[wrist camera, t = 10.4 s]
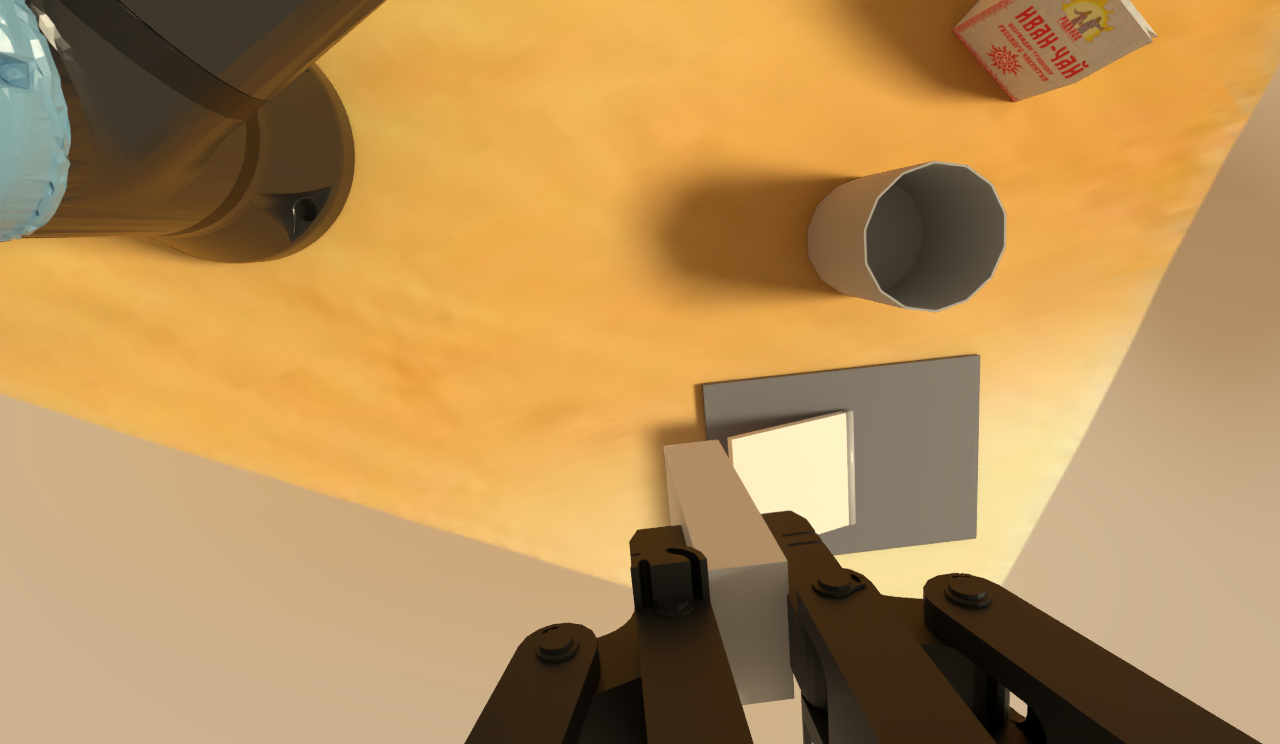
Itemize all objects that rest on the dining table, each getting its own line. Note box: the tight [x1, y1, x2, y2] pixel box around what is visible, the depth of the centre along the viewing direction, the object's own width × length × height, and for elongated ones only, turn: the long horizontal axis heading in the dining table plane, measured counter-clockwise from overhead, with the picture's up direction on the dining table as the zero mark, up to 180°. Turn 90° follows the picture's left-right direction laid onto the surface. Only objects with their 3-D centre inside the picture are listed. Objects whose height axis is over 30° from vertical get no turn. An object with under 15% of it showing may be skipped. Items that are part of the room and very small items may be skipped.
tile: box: [727, 409, 856, 534], centre depth 46 cm, size 10×9×1 cm
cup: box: [807, 161, 1006, 312], centre depth 41 cm, size 8×8×10 cm
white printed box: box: [952, 0, 1158, 102], centre depth 38 cm, size 4×7×10 cm, turn 48°
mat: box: [702, 354, 980, 555], centre depth 49 cm, size 15×21×1 cm
